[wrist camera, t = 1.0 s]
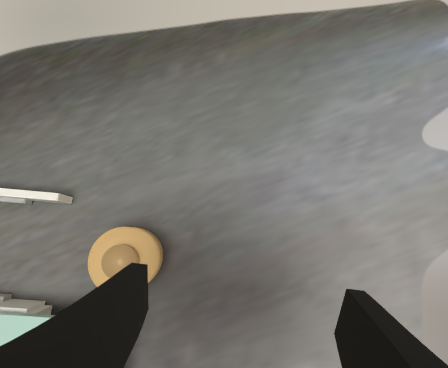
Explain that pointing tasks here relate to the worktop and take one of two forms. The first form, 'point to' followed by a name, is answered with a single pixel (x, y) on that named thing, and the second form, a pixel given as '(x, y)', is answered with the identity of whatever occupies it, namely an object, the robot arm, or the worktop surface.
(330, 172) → the worktop surface
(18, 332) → the lid
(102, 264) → the domed oval button
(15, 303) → the housing
